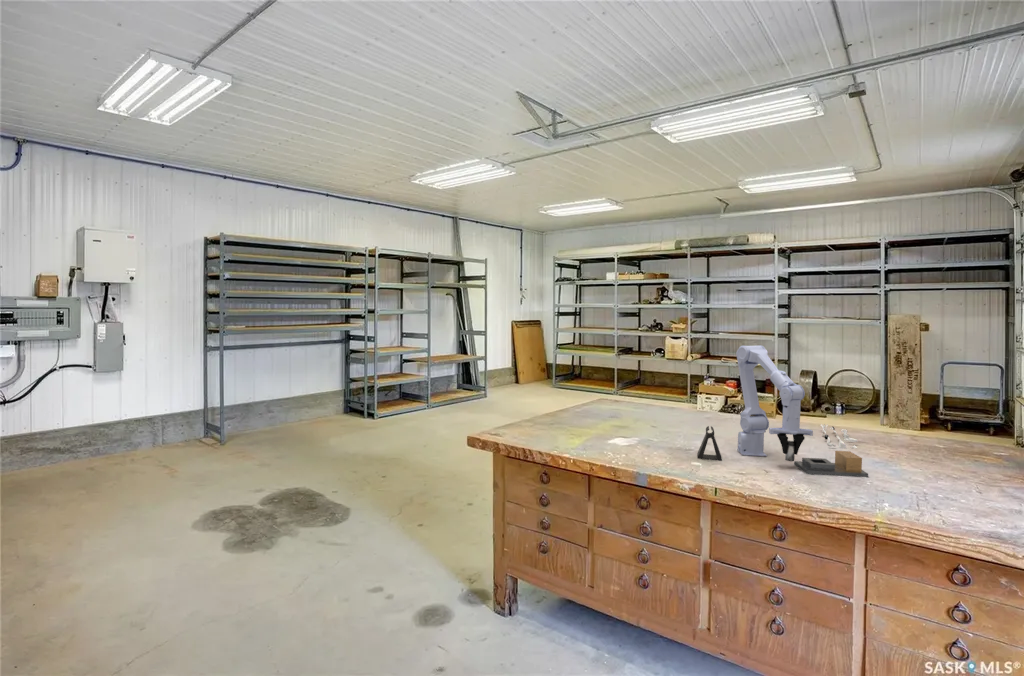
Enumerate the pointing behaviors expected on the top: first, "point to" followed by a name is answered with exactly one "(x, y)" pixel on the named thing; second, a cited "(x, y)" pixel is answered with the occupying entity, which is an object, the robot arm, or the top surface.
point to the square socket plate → (834, 465)
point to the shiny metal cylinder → (790, 451)
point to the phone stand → (703, 446)
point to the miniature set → (841, 443)
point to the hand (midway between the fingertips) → (789, 453)
